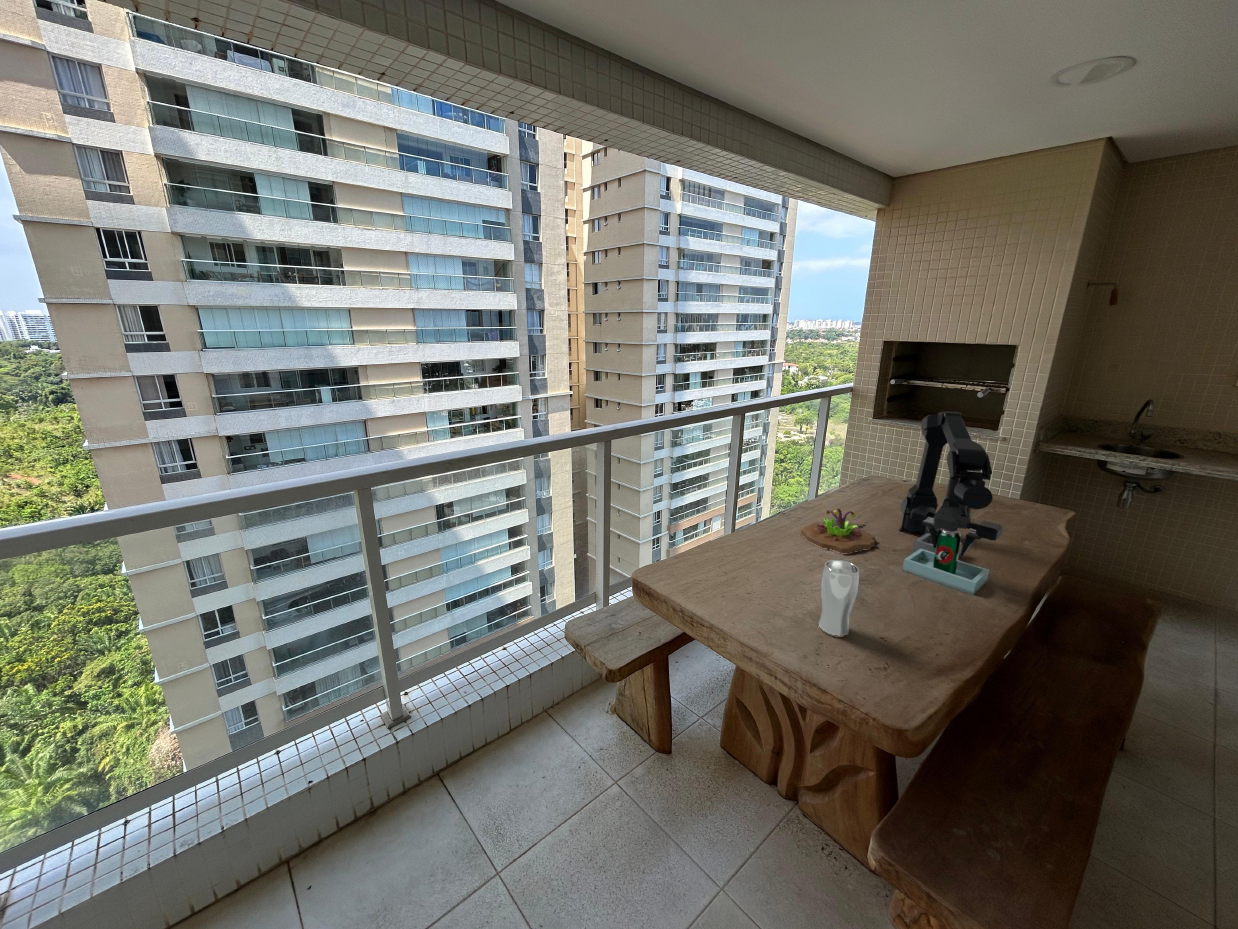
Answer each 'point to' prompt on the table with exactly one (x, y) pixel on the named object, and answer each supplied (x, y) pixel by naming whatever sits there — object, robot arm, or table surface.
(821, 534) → the plant
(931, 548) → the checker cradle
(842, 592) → the beer glass
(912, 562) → the trough
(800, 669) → the table surface
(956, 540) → the soda can
